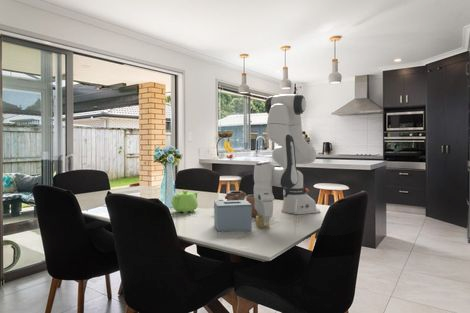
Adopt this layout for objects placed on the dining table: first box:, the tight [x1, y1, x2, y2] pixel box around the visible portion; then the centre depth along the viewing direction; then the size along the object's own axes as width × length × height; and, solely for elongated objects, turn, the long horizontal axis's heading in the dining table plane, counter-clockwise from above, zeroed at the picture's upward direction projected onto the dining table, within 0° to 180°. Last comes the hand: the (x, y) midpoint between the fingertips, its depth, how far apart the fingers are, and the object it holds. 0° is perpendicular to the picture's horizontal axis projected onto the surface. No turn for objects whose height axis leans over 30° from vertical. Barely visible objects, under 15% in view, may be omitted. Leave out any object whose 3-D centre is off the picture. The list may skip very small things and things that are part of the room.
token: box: [255, 215, 270, 228], centre depth 155 cm, size 6×2×5 cm, turn 100°
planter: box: [245, 194, 258, 218], centre depth 177 cm, size 12×12×11 cm
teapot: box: [171, 190, 199, 215], centre depth 188 cm, size 20×13×13 cm
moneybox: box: [213, 199, 253, 233], centre depth 152 cm, size 16×12×12 cm
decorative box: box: [224, 190, 247, 201], centre depth 203 cm, size 13×20×10 cm, turn 154°
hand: (262, 222), depth 155 cm, fingers open, 8 cm apart
